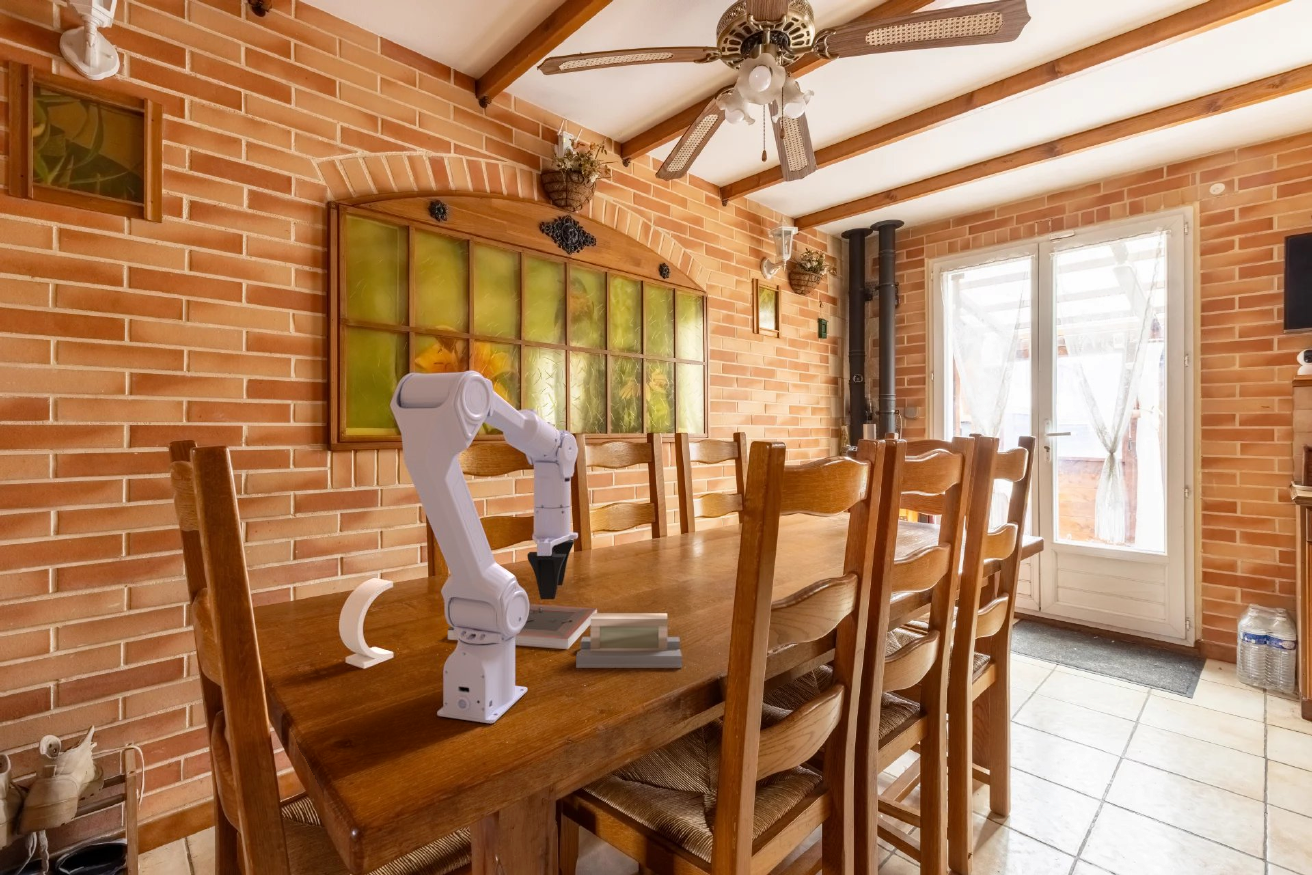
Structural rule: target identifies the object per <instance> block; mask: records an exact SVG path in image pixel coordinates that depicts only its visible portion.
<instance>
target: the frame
mask: <svg viewBox="0 0 1312 875" xmlns="http://www.w3.org/2000/svg"><path fill="white" fill-rule="evenodd" d="M668 625H669V624H668V613H664V612H663V613H660V612H659V613H657V612H655V613H652V612H651V613H650V612H649V613H647V612H645V613H644V612H642V613H640V612H639V613H636V612H635V613H634V612H633V613H632V612H631V613H630V612H629V613H628V612H626V613H625V612H624V613H621V612H618V613H617V612H616V613H615V612H614V613H613V612H611V613H610V612H607V613H604V612H603V613H601V612H597V613H592V616H591V624H590V637H591V651H667V637H668Z"/></svg>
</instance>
